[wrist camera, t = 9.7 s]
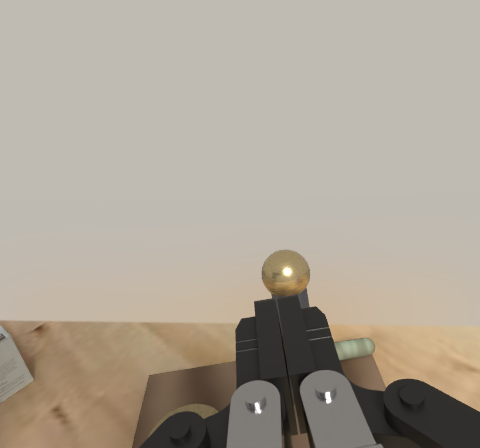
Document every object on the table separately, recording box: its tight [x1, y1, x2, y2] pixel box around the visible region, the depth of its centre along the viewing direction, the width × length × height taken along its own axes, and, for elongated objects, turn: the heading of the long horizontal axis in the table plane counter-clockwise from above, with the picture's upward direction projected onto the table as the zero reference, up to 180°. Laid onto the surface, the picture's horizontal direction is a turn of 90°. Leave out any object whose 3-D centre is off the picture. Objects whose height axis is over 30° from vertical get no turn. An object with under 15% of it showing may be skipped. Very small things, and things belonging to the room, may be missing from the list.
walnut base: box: [132, 338, 386, 448], centre depth 39 cm, size 24×18×3 cm
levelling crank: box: [148, 250, 310, 437], centre depth 36 cm, size 18×7×15 cm, turn 117°
